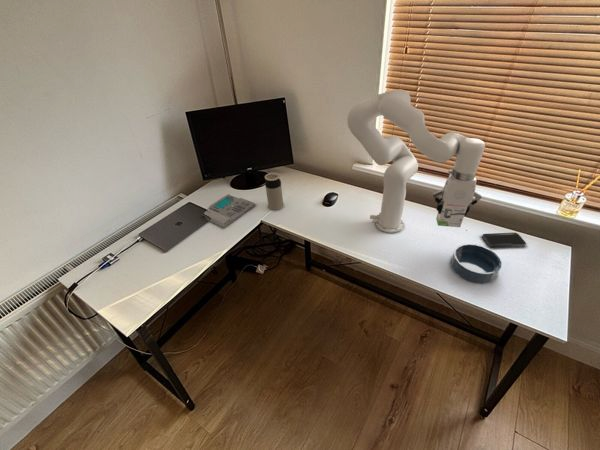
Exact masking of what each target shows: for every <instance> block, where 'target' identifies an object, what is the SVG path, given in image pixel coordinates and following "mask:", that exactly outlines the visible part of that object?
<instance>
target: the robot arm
mask: <svg viewBox="0 0 600 450" xmlns="http://www.w3.org/2000/svg"><path fill="white" fill-rule="evenodd" d="M411 100H412V99H411V95H410V93H409V92H408V91H407V90H404V89H401V88H399V89H394V90H390V91H386V92H382V93H379V94H374V95H371V96H369V97H367V98H365V99H363V100H361V101H359V102H357V103H356V104H354V105H353V106H352V107H351V108H350V109H349V111H348V114H347V117H346V119H347V127H348V129H349V131H350V133H351V134H352V135H353V136H354V138H355V139H356V140H357V141H358V142H359V143H360V144H361V145H362V147H363V148H364V150H365V152H367V154H368V155H369V156H370V158H371V159H372V160H373V162H374V163H375V164H377V165H378V166H385V165H388V164H389V163H390V162H392V164H390V165H389V166H388V167H387V168H386V169H385V171H384V173H383V177H382V179H383V191H382V200H381V208H380V212H378V213H379V214H370V215H369V219H370V220H372V222H374V223H375V226H376V227H377V229H378V230H380V231H382V232H385V233H391V234H393V233H394V234H395V233H398V232H400V231H402V230H403V228H404V225H405V223H404V221H403V220H402V217H403V211H404V208H405V207H404V206H405V201H406V195H407V183H408V181H409V180H410V179H411V178H413V176H414V175H415V174H416V173H417V172H418V170H419V162H418V159H417V158H416V157H415V156H414V154H413V153H412V152H411V150H410V149H409V147H408V146H407V145H406V143H405V142H404V141H403V140H402V139H401V138H400V137H398V136H396V135H387V136H385V137H384V136H383V135H382V134H381V132H380V131H379V130H378V128H376V127H375V126H374V125H372V124H370V121H372V120H374V119H376V118H377V117H380V116H382V117H384V118H385V119H387V120H388V121H389V122H391V123H392V124H393V125H394V126H396V127H398V128H399V129H400V130H402V131H403V132H405V133H406V134H407V136H408V137H409V139H410V141H411V143H412V145H413V146H414V147H415V148H416V149H417V150H418V151H419V152H420V153H421V154H422V155H424V156H425V157H427V158H428V159H430V160H432V162H433V161H434V162H437V163H445V162H448V161H450V159H451V158H453V157H454V156H456V157H455V161H454V165H453V167H452V169H448V171H447V174H448V175H449V176H448V177H447V179H446V181H445V183H444V185H443V188H442V189H440V190H436V191H434V192H432V197H433V199H434V201H435V202H436V204H437V205H436V208H435V209H436V211H437V214H441V211H442V207H443V205H442V204H443V203H444V202H446V203H458V204H468V207H467V210H466V212H465V215H464V216H467V214H468V213H469V212H470V209H471V208H472V207H473V206H474V205H476V204H477V203H478V202H479V201H480V200H482V198H483V197H482V195H481V194H480V193H478V192H476V187H477V181H478V179H477V178H476V174H477V172H478V169H479V166H480V163H481V161H482V158H483V154H484V152H485V149H486V144H485V141H483V140H482V139H479V138H473V137H467V136H465V135H462V134H460V133H458V132H451V131H450V132H447V133H445V134H444V135H442V137H440V138H438V137H437V136H435V135H434V134H433V133H431V132H430V131H429V130H428V127H427V126H426V123H425V113H424V112H423V111H421V110H420V109H418V108H416V107H415V106H414V105H412V104H411V102H412V101H411ZM439 196H440V197H439Z"/></svg>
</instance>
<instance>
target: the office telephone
mask: <svg viewBox="0 0 600 450" xmlns="http://www.w3.org/2000/svg"><path fill="white" fill-rule="evenodd" d="M255 206H256V203H255V202H253V201H250V200H248V199H246V198H242V197H236V196H234V195H231V194H230V193H228V194H226V195H224V196H222V197H221V198H220V199H218V200H216V201H215V202H213V203H212V204H210V205H209V206H208V208H209V209H207V210H205V211H204V212H203V213H204V214H205V215H207V216H209V217H210V218H211V220H209V219H207V218H206V219H205V220H207V221H208V222H210V223H212V224H214V225H216V226H218V227H220V228H222V229H225V228H227V227H228V226H230V225H231V224H232V223H233V222H235V221H236V220H238V219H239V218H240V217H241V216H243V215H244V214H246V213H247V212H248V211H249V210H251V209H252V208H254V207H255Z"/></svg>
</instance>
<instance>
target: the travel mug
mask: <svg viewBox="0 0 600 450" xmlns="http://www.w3.org/2000/svg"><path fill="white" fill-rule="evenodd" d="M280 177H281V176H280V174H279V173H277V172H269V173H267V174H265V175H264V179H265V182H264V186H265V193H266V198H267V206H268V208H269V209H270V210H273V211H278V210H280V209H282V208H283V207H284V198H283V188H282V181H281V178H280Z"/></svg>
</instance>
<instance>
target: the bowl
mask: <svg viewBox="0 0 600 450" xmlns="http://www.w3.org/2000/svg"><path fill="white" fill-rule="evenodd" d="M450 265H451V269H452V270H453V271H454V273H455V274H457V275H458V276H459V277H460V278H461V279H464V280H466V281H467V282H468V281H469V282H472V283H475V284H487V283H491V282H493V281H494V280H495V279H496V278H497V276H498V274H499V272H500V270H501V268H502V260H501V258H500V257H499V255H498V254H497V253H496V252H494V251H493V250H491V249H490V248H488V247H486V246H483V245H481V244H476V243H464V244H461V245H459V246H457V247H456V248H455V249H454V251H453V254H452V256H451V259H450Z"/></svg>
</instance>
